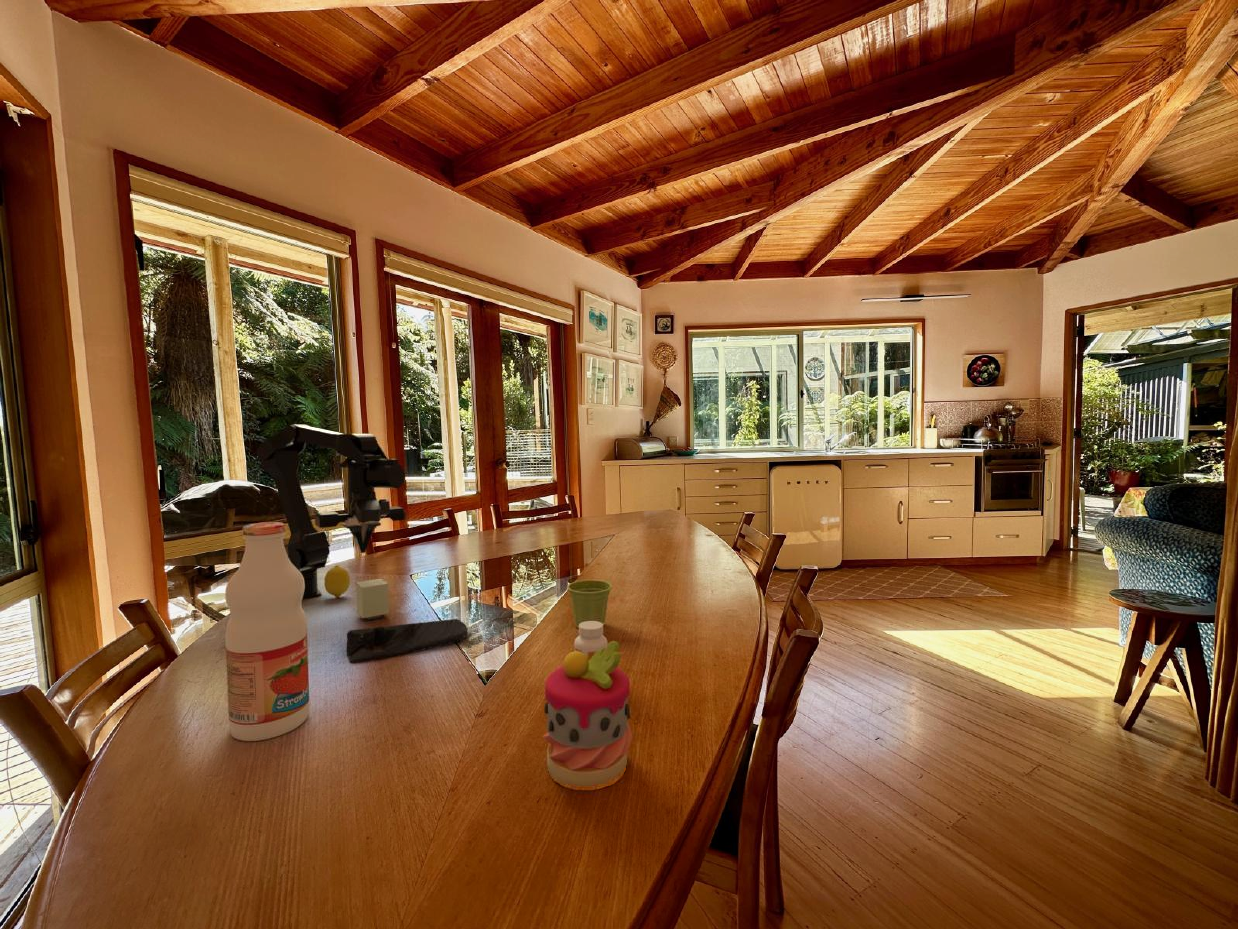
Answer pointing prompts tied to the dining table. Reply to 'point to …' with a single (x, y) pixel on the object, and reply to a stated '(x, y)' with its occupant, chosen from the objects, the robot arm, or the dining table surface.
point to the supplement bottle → (590, 638)
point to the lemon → (337, 581)
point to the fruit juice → (266, 639)
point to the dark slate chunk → (402, 638)
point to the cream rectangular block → (372, 598)
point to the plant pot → (589, 600)
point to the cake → (588, 718)
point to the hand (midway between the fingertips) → (362, 552)
